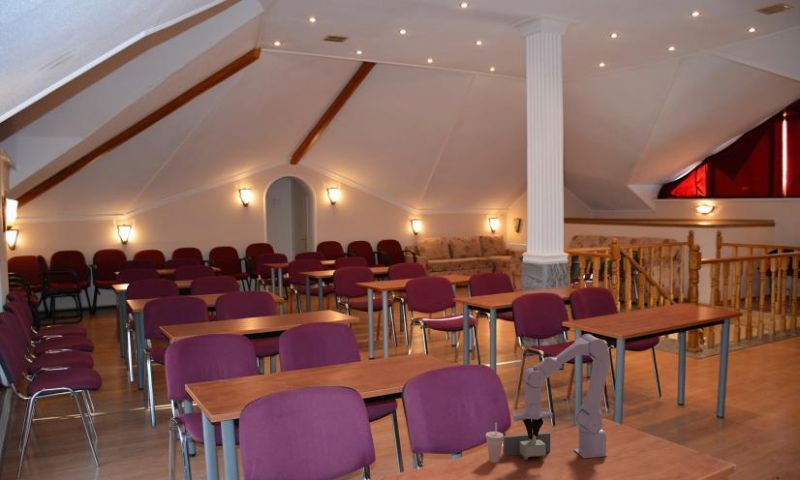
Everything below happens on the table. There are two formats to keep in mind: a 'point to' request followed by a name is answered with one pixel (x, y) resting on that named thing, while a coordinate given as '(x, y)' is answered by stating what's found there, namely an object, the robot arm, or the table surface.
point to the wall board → (513, 441)
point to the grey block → (532, 448)
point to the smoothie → (494, 445)
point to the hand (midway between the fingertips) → (532, 438)
